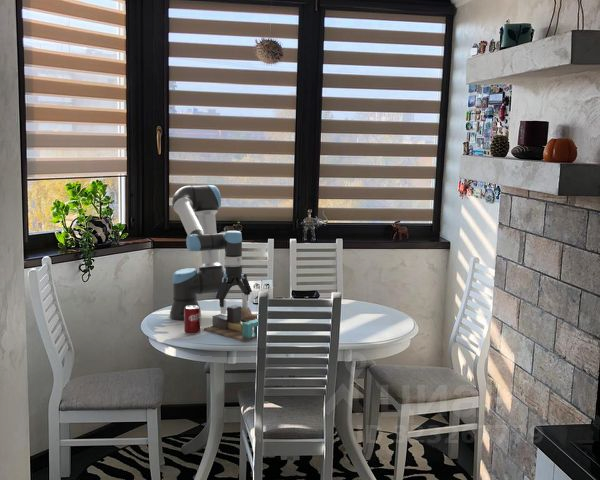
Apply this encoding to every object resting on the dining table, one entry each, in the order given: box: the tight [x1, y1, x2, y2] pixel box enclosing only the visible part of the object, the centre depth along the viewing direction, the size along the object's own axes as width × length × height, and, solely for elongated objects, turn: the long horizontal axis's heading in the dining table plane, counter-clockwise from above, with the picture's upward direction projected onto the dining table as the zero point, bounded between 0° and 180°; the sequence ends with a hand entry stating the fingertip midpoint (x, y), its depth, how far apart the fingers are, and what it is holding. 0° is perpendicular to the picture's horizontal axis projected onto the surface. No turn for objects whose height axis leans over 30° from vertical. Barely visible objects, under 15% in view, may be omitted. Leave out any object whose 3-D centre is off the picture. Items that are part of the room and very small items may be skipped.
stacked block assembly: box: [211, 313, 258, 339], centre depth 341 cm, size 26×10×6 cm, turn 49°
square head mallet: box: [226, 304, 244, 332], centre depth 343 cm, size 18×5×10 cm, turn 49°
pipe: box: [241, 306, 258, 322], centre depth 363 cm, size 6×17×10 cm
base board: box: [203, 325, 258, 343], centre depth 342 cm, size 27×14×1 cm, turn 49°
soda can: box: [183, 305, 201, 335], centre depth 341 cm, size 7×7×12 cm
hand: (234, 311), depth 341 cm, fingers open, 13 cm apart
